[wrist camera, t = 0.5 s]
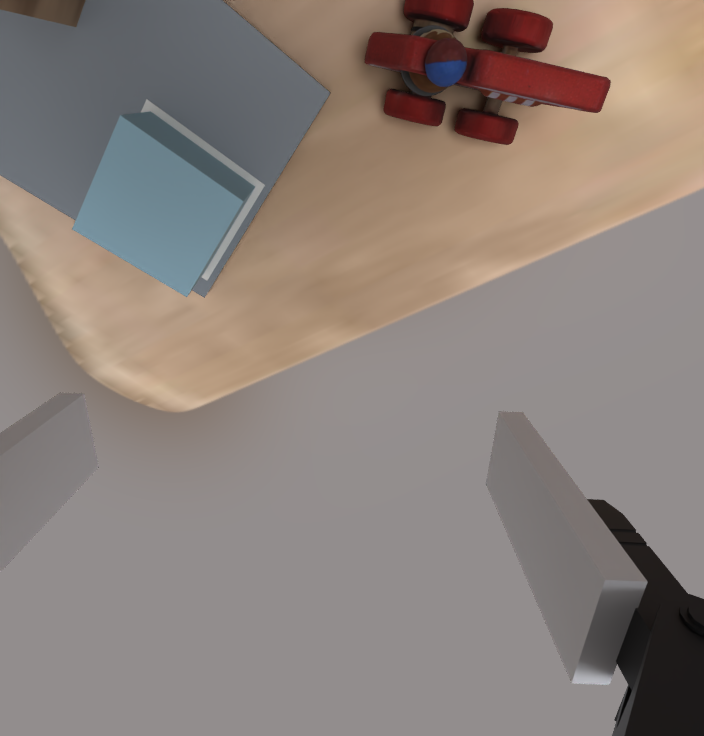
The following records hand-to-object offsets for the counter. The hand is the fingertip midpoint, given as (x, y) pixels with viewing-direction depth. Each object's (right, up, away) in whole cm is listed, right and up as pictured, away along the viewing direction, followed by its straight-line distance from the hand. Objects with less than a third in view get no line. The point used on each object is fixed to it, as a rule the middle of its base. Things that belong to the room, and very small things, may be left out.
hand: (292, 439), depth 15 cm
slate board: (-13, +20, +17) cm, 29 cm away
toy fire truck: (+9, +22, +16) cm, 29 cm away
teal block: (-11, +15, +19) cm, 26 cm away
